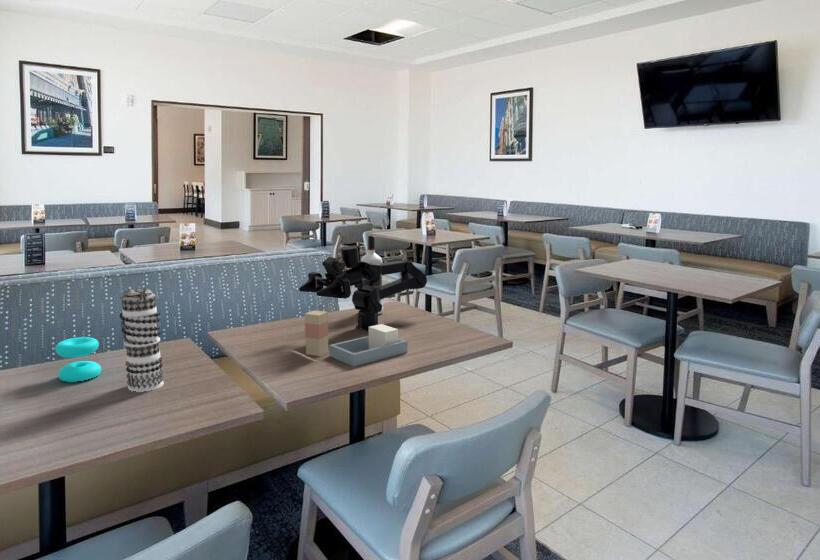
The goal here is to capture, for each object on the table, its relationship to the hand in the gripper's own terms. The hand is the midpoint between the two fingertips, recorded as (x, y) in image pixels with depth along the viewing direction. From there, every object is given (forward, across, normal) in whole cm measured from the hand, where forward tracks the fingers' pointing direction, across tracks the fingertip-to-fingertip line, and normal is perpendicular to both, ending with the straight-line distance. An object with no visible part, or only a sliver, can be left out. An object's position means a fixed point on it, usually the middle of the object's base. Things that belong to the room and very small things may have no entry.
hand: (308, 291), depth 183 cm
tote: (-2, +24, +17) cm, 29 cm away
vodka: (-38, -15, +22) cm, 46 cm away
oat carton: (+8, +12, +16) cm, 21 cm away
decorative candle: (+54, +1, +10) cm, 55 cm away
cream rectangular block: (-8, +24, +17) cm, 30 cm away
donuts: (+63, -18, +9) cm, 66 cm away
